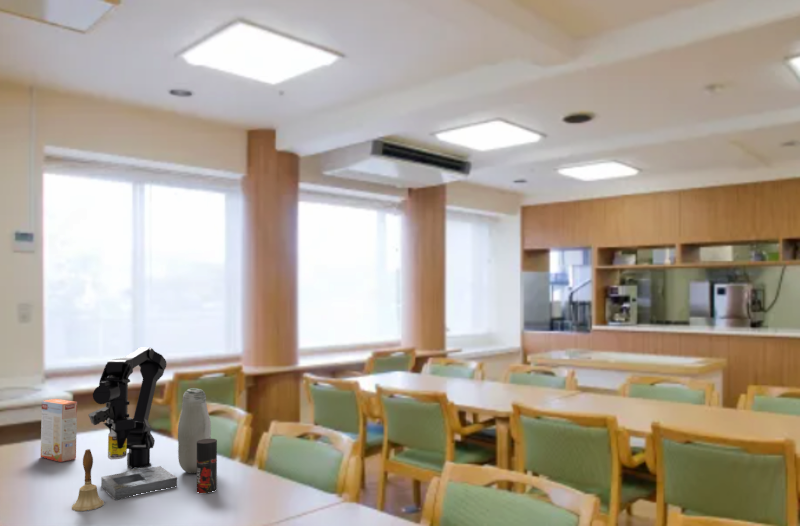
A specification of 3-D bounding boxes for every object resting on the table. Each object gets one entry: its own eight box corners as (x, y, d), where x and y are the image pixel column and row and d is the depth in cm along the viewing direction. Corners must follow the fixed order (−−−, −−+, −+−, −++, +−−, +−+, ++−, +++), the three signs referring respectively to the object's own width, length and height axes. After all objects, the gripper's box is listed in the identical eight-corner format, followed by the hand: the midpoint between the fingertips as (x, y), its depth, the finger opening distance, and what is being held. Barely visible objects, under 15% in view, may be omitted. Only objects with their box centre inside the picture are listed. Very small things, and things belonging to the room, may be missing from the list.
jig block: (159, 475, 204) (160, 465, 204) (176, 487, 192) (176, 477, 192) (101, 486, 193) (101, 476, 193) (115, 500, 180) (115, 489, 180)
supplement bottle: (109, 460, 197) (109, 428, 197) (106, 457, 201) (107, 425, 202) (128, 458, 200) (128, 426, 200) (125, 454, 204) (125, 423, 205)
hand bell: (70, 513, 170) (71, 455, 171) (72, 503, 178) (73, 447, 178) (103, 508, 173) (104, 451, 174) (104, 499, 181) (105, 444, 182)
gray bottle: (216, 469, 210) (216, 387, 211) (194, 478, 200) (195, 391, 202) (193, 466, 214) (194, 385, 215) (171, 474, 205) (172, 389, 206)
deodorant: (220, 488, 190) (220, 439, 191) (208, 494, 185) (209, 444, 185) (204, 486, 192) (204, 438, 193) (192, 492, 187) (192, 442, 187)
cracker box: (77, 459, 224) (78, 401, 225) (60, 463, 219) (61, 404, 220) (56, 453, 231) (57, 397, 232) (39, 457, 226) (40, 400, 227)
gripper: (84, 397, 203) (83, 445, 203) (98, 405, 189) (97, 457, 188) (120, 393, 210) (119, 439, 210) (136, 401, 196) (135, 450, 195)
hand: (117, 446), depth 201 cm, fingers closed on supplement bottle, 5 cm apart
